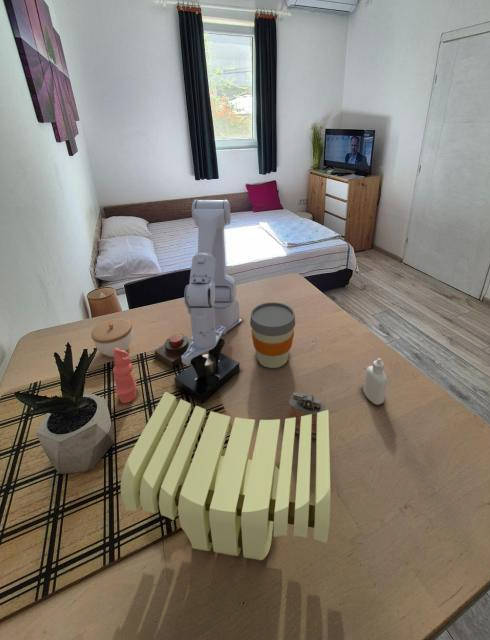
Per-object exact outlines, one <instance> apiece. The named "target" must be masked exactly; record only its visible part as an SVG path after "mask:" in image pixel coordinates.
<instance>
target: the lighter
mask: <svg viewBox="0 0 490 640" xmlns="http://www.w3.org/2000/svg"><path fill="white" fill-rule="evenodd" d="M288 405H289V418H295V417H296V423H295V434H298V435H300V424H301V416H305V415H310V414H312V423H311V439H316V433H317V413H318V412H322V411H325V410H327V407H326V406H325V404H323V403H322V400H321V399H320V398H317V397H314V395H313V394H311V393H308V394H303V393H299V392H293V393H292V397H291V398H289V401H288Z"/></svg>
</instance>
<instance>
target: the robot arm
mask: <svg viewBox="0 0 490 640" xmlns="http://www.w3.org/2000/svg"><path fill="white" fill-rule="evenodd" d="M191 217H192V220H193V221H194V224H195V226H196V227H197V228H198V232H197V233H198V235H197V253H195V254H194V255H193V256H192V259H191V268H190V275H189V283H188V284H186V285H185V288H184V295H183V296H184V297H183V298H184V305H185V307H186V310H187V313H188V315H189V317H190V327H191V334H192V335H191V337H190V339H191V340H192V343H191V345H190V346H189V348H188V349H187V351H186V352H185V353H184V355H182V356H181V358H182V362H181V363H182V364H184V365H186V366H189V365H192V366H193V368H194V369H195V371H196V374H197V375H198V376H200V377H202V378H203V377H204V376H205V363H206V360H207V359H206V358H204V357H202V355H204V354H206V353H208V352H209V354H211V355H213V356H214V357H215V361H216V365H217V364H218V361H219V357H220V353H222V350H223V348H224V346H225V345H226V341H225V339H223V338H221V337H222V336H225V335H226V334H227V332H229V331H230V330H231V329H233V328H234V327H236V326H237V325H238V324H240V323H242V319H241V318H240V303H239V301H238V299H237V285H236V280H235V278H234V276H231V275H229V273H227V267H226V251H225V250H226V249H225V231H224V230H225V228H226V227H225V226H229V225H231V221H232V219H231V204H230V201H229V200H228V199H194V200H193V201H192V203H191Z"/></svg>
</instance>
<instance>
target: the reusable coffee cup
mask: <svg viewBox="0 0 490 640" xmlns="http://www.w3.org/2000/svg"><path fill="white" fill-rule="evenodd" d="M249 325H250V327H251V330H250V332H251V338H252V344H253V348H254V349H255V352H256V358H257V361H258V363H259V364H260V365H261V366H263V367H266V368H268V369H276V368H280V367H283V366H284V365H285V364H286V363H287V362H288V360H289V354H290V351H291V348H292V346H293V340H294V335H295V329H294V328H295V327H296V314H295V310H294V309H293V308H292V307H291V306H289V305H287V304H285V303H282V302H276V301H270V302H264V303H260V304H258V305H256V306H255V307H254V308H253V309H252V310H251V312H250V319H249Z"/></svg>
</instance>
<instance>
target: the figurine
mask: <svg viewBox="0 0 490 640" xmlns="http://www.w3.org/2000/svg"><path fill="white" fill-rule="evenodd" d="M128 355H130V353H129V352H128V351H127V350H126V351H123V350H119V349H118V348H115V349H114V357H113V360H114V366H113V368H112V374H113V375H114V376H113V380H114V383H115V388H114V392H115V394H117V396H118V399H119V402H120V403H124V404H128V403H130V402H132V401H134V400H135V398H136V397H137V391H136V387H137V384H138V383H137V381H136V380H135V379H134V376H133V373H132V371H133V369H134V366H133V363H132V361H131V359H130V357H128Z"/></svg>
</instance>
